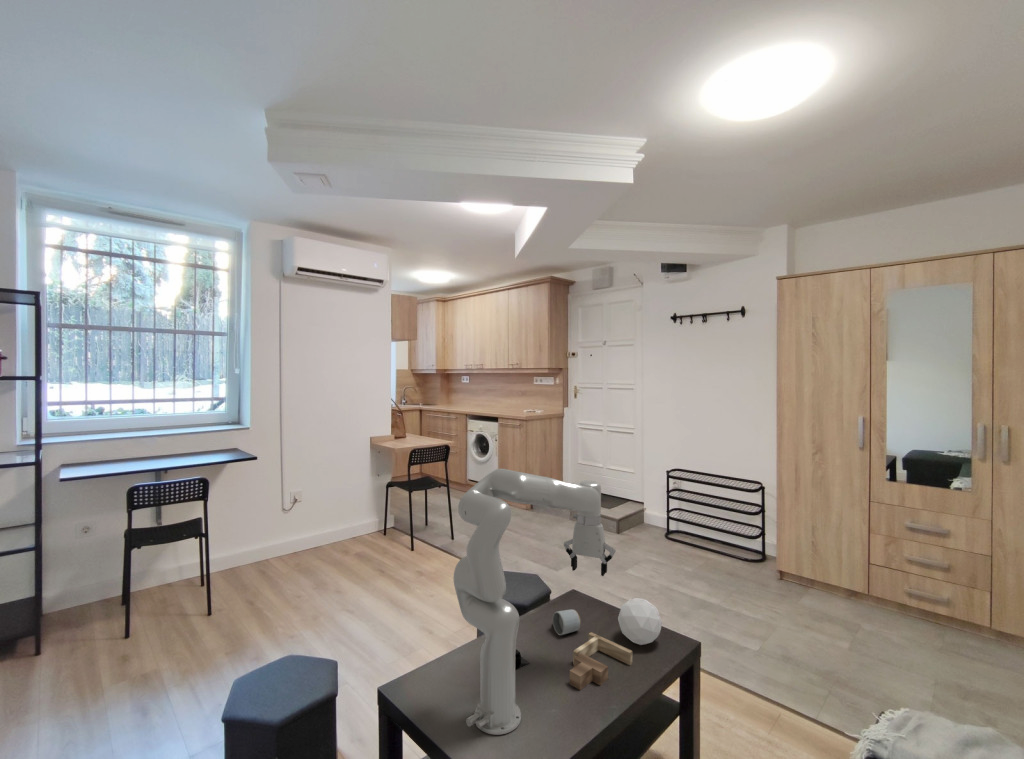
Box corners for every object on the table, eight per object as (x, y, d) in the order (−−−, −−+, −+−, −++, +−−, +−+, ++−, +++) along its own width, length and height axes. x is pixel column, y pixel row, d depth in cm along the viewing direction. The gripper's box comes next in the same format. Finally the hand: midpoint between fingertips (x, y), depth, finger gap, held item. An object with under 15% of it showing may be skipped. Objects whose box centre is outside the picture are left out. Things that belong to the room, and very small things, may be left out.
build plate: (503, 679, 144) (503, 664, 144) (490, 667, 150) (490, 653, 150) (535, 665, 151) (535, 650, 151) (521, 654, 157) (521, 640, 157)
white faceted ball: (651, 657, 163) (677, 632, 157) (616, 649, 158) (641, 623, 153) (637, 618, 175) (661, 594, 170) (605, 610, 171) (628, 585, 165)
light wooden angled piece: (609, 682, 141) (609, 669, 141) (566, 660, 153) (567, 647, 153) (632, 663, 151) (632, 650, 151) (591, 643, 162) (591, 632, 162)
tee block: (588, 695, 136) (588, 681, 136) (561, 679, 143) (561, 666, 143) (608, 679, 143) (608, 666, 143) (581, 665, 150) (581, 653, 150)
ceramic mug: (582, 633, 169) (582, 612, 169) (563, 639, 165) (563, 617, 165) (565, 620, 178) (565, 600, 178) (547, 625, 174) (547, 604, 174)
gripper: (560, 519, 154) (559, 571, 154) (612, 526, 147) (612, 581, 146) (567, 513, 161) (567, 563, 161) (618, 520, 153) (617, 572, 153)
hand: (588, 571), depth 154 cm, fingers open, 9 cm apart
